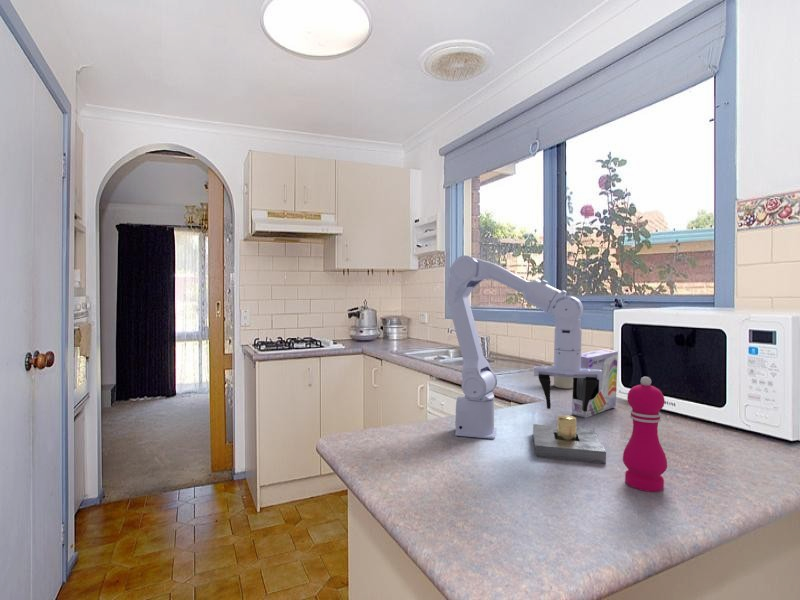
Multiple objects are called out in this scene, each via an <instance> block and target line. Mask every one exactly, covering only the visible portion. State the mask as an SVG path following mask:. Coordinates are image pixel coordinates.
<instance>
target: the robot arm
mask: <svg viewBox="0 0 800 600" xmlns="http://www.w3.org/2000/svg"><path fill="white" fill-rule="evenodd" d="M448 271H449V277H448V281H447V287H446V291H445V294H446V295H445V296H446V300H447V303H448V307H449V312H450V314H451V319H452V323H453V327H454V330H455V334H456V339H457V342H458V346H459V350H460V354H461V357H462V361H463V363H462V367H461V377H462V379H461V380H462V381H461V390H462V392H463V394H464V396H457V397H456V403H455V434H454V435H455V436H457V437H458V436H459V437H466V438H467V437H469V438H478V439H479V438H480V439H490V440H493V439H496V434H497V433H496V432H497V427H495V395H494V393H493V391H495V389H496V387H497V385H498V378H497V376H496V373H495V372H494V371H493V370H492V368H491V366H490V362H489V361H488V360H487V359H486V357H485V356H484V351H483V349H482V348H483V347H482V345H481V344H482V343H481V340H480V336H479V332H478V328H477V325H476V322H475V318H474V314H473V310H472V307H471V303H470V298H469V296H470V294H471V293H472V291H473V290H474V288H475V287H476V286H477V285H479V284H480V283H481V282H483V281H484V280H488V281H489V280H493V281H496V282H498V283H500V284H502V285H504V286H506V287H508V288H510V289H512V290H515V291H516V292H519V293H521V294H522V295H523V298H524V301H525V302H526V303H528V304H530V305H533V306H534V307H535V308H538V309H540V310H542V311H544V312H545V313H548V314H552V315H553V317H554V319H555V325H554V326H555V327H554V341H553V343H554V345H553V346H554V349H553V351H554V354H553V366H538V365H537V366H533V377H538V382H539V383H540V386H541V387H542V391H543V393H544V396H545V400H546V401H545V402H546V409H547V410H551V406H552V405H551V404H552V403H551V384H552V383H551V382H552V381H551V377H553V378H554V377H571V378H583V401H582V410H583V411H585V412H587V407H588V403H589V400H590V397H591V395H592V393H593V391H594V389H595V388H596V386H597V383H598V381H597V380H602V371H601V370H596V369H586V368H581V354H582V330H583V329H582V328H581V327H582V318H581V316H582V315H583V313H584V305H583V302H582V301H581V300H580V299H579V298H577V297H576V296H575V295H567V293H568V292H567V291H566V290H564V289H561V290H560V289H557V288H555V287H553V286H551V285H550V284H548V283H549V281H547V280H545V279H541V280H539V279H534V280H531V281H529V280H527V279H525V278H523V277H521V276H519V275H517V274H516V273H514V272H512V271H511V270H508V269H507V268H505V267H503V266H501V265H499V264H497V263H495V262H491V261H488V260H484V259H482V258H480V257H472V256H470V255H460V256H458V257H457V258H456V259H455V260H454V261H453V262H452V264H451V266H450V267H449V269H448ZM564 374H565V375H564Z"/></svg>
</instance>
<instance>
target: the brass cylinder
mask: <svg viewBox="0 0 800 600" xmlns="http://www.w3.org/2000/svg"><path fill="white" fill-rule="evenodd" d="M556 426H557V439H558V440H570V441H576V428H577V417H575V416H574V415H569V414H568V415H566V414H560V415H557V424H556Z"/></svg>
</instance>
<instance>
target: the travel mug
mask: <svg viewBox="0 0 800 600" xmlns="http://www.w3.org/2000/svg"><path fill="white" fill-rule="evenodd" d="M564 375H565V374H564ZM553 386H554V387H555V388H559V389H562V388H563V390H564V389H566V390H573V378H571V377H553Z"/></svg>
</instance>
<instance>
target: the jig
mask: <svg viewBox="0 0 800 600" xmlns="http://www.w3.org/2000/svg"><path fill="white" fill-rule="evenodd" d="M532 425H533V427H532V429H533V430H532V433H533V434H532V436H533V447H534V458H541V457H542V458H543V459H551V458H553V459H554V460H562V461H563V460H564V461H575V462H584V463H595V464H604V465H605V464H607V451H606V449H605V447H604V445H603V443H602V441H601V440H600V437H599V436H598V434H597V432H596V430H595V428H589V427H588V428H587V427H576V441H570V440H558V439H557V425H548V424H534V423H533V424H532Z"/></svg>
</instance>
